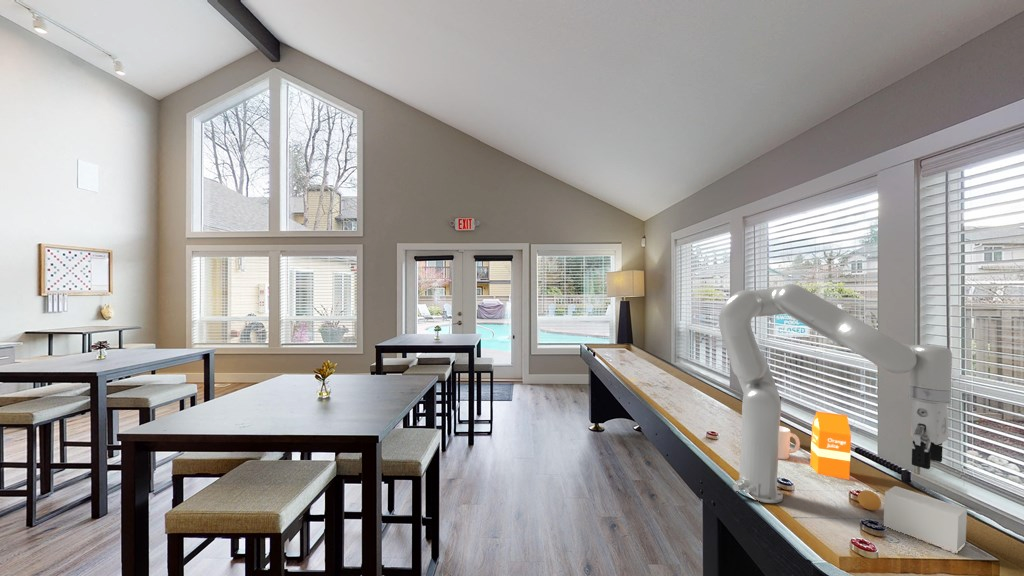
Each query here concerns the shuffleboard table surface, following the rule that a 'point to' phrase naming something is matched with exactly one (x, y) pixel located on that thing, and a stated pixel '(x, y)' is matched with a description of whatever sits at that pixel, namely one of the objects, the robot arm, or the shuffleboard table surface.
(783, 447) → the mug
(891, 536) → the shuffleboard table surface
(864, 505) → the ball
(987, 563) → the shuffleboard table surface
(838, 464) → the orange juice
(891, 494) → the frosted white brick
